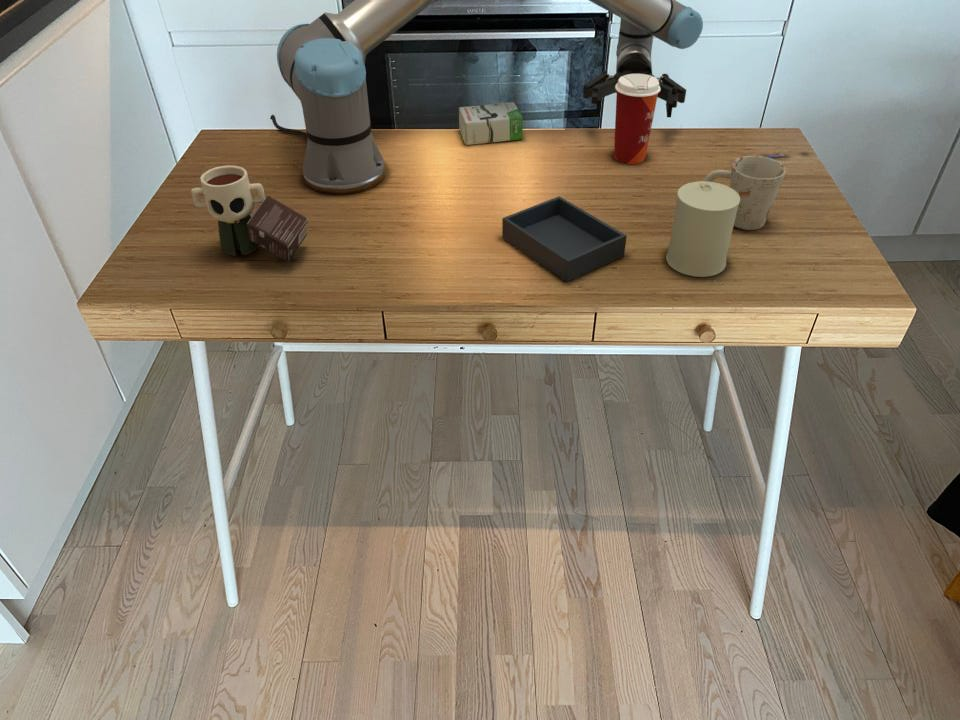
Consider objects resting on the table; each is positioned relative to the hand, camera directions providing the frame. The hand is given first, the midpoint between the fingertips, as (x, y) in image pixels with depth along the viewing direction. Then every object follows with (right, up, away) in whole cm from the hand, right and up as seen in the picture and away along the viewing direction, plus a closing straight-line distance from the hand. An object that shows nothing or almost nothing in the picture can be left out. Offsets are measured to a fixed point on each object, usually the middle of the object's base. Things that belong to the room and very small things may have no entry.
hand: (634, 109), depth 149 cm
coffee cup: (-1, -9, +2) cm, 9 cm away
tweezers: (+28, -8, 0) cm, 29 cm away
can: (+4, -33, -27) cm, 43 cm away
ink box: (-22, +1, +9) cm, 24 cm away
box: (-58, -30, -27) cm, 71 cm away
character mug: (-69, -30, -23) cm, 78 cm away
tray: (-16, -30, -23) cm, 41 cm away
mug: (+13, -25, -17) cm, 33 cm away
